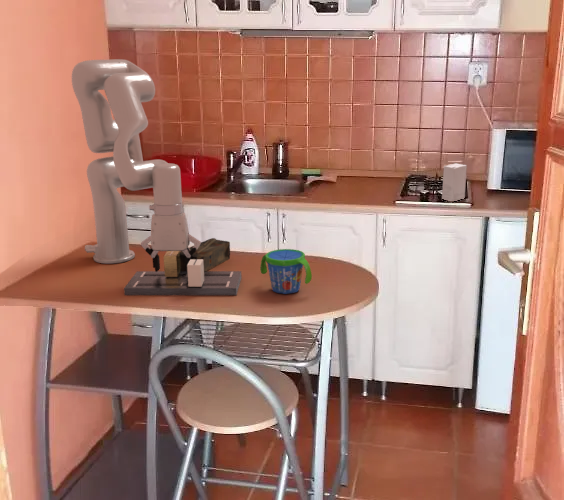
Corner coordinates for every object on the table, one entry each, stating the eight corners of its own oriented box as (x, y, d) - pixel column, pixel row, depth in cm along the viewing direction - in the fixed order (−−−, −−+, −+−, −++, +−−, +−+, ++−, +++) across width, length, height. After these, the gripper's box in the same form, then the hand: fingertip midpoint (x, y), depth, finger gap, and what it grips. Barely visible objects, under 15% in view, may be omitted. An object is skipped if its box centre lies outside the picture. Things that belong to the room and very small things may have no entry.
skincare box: (453, 197, 290) (455, 162, 285) (465, 200, 285) (467, 164, 281) (441, 200, 285) (442, 165, 280) (452, 203, 280) (455, 167, 276)
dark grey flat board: (124, 295, 183) (123, 287, 182) (137, 278, 196) (136, 271, 195) (236, 295, 181) (236, 287, 181) (241, 277, 195) (241, 270, 194)
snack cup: (251, 288, 186) (250, 253, 183) (278, 279, 193) (277, 244, 190) (294, 302, 176) (293, 264, 173) (320, 291, 183) (320, 255, 180)
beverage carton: (231, 259, 213) (231, 238, 211) (197, 277, 196) (196, 256, 194) (210, 256, 216) (209, 236, 214) (174, 274, 200) (173, 252, 198)
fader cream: (188, 286, 182) (187, 264, 180) (191, 280, 186) (190, 259, 185) (201, 286, 182) (200, 264, 180) (204, 280, 186) (203, 258, 185)
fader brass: (164, 276, 190) (163, 255, 188) (168, 270, 194) (167, 250, 193) (177, 276, 190) (176, 255, 188) (180, 270, 194) (179, 250, 193)
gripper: (133, 212, 183) (138, 274, 188) (198, 212, 183) (201, 274, 188) (140, 206, 191) (145, 266, 196) (202, 206, 190) (205, 265, 195)
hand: (172, 269), depth 192 cm, fingers open, 8 cm apart
